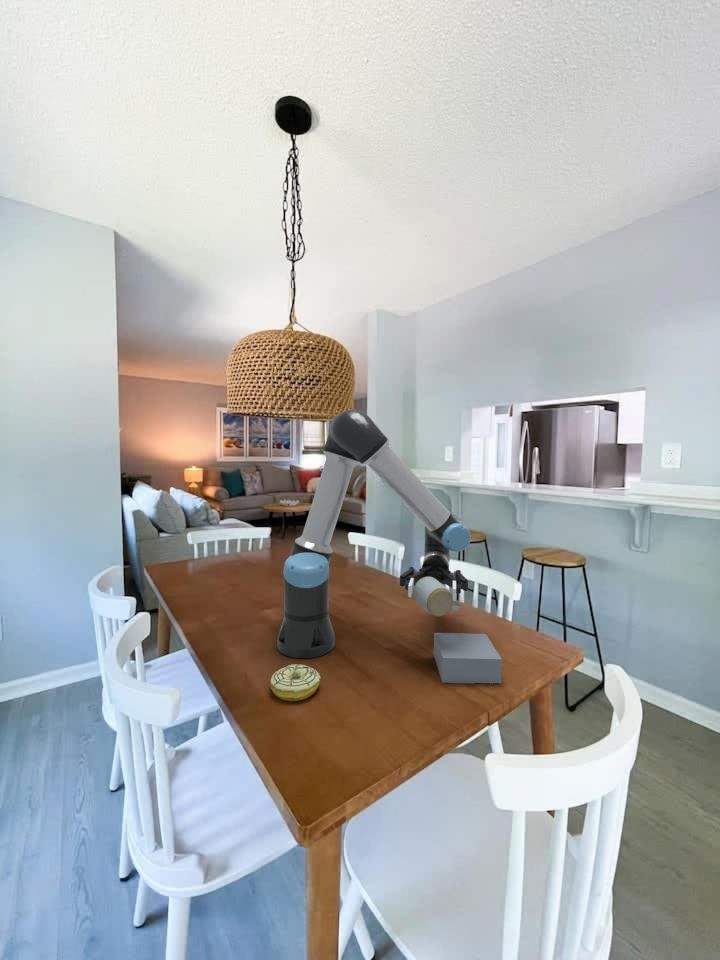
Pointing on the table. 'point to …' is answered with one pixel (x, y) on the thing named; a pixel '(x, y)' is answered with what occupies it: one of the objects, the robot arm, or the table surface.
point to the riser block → (467, 658)
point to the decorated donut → (295, 682)
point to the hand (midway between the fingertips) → (431, 593)
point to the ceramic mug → (434, 597)
